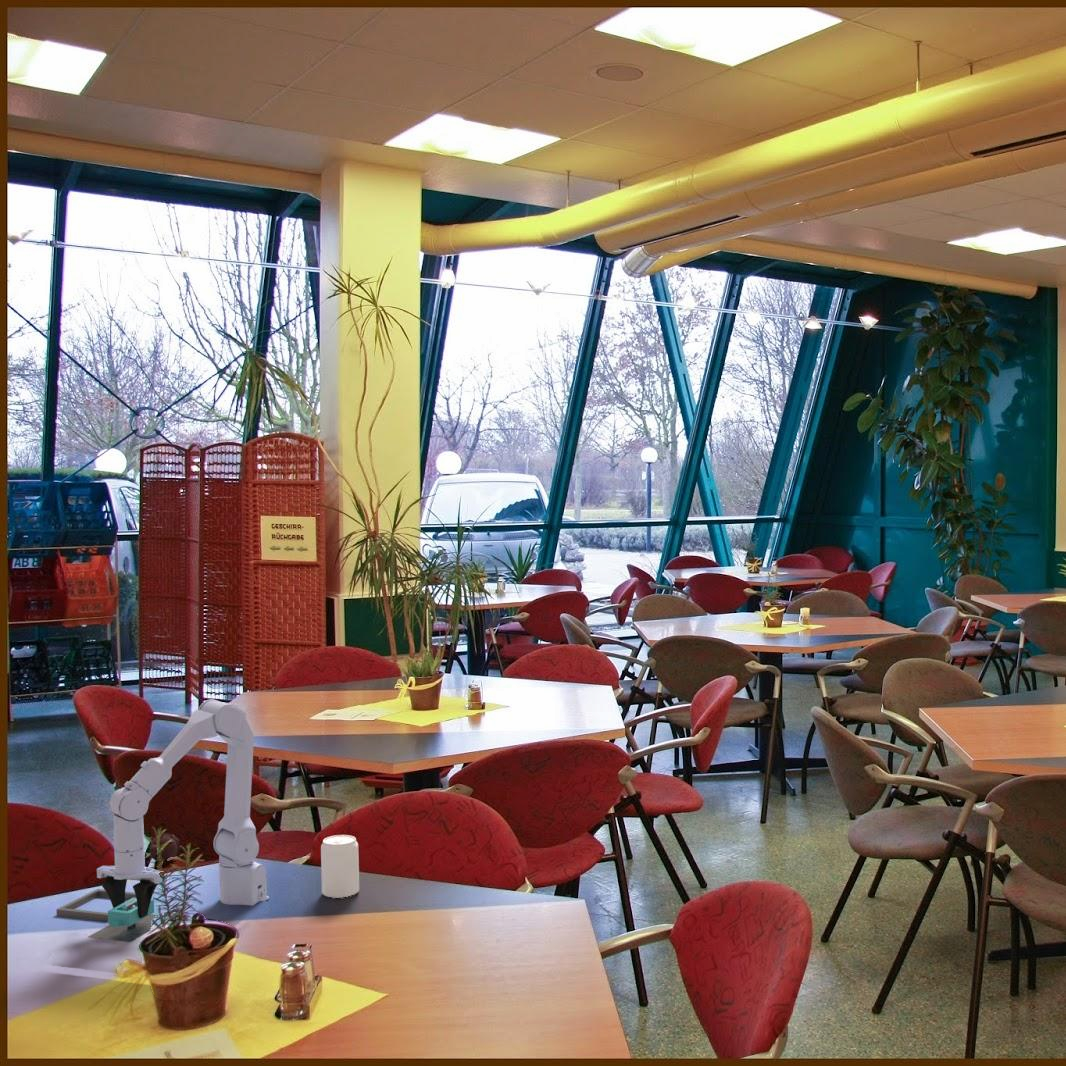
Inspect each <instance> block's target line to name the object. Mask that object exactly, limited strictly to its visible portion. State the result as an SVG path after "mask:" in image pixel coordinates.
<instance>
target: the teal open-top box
mask: <svg viewBox="0 0 1066 1066" xmlns="http://www.w3.org/2000/svg"><path fill="white" fill-rule="evenodd" d="M133 900H137V899H136V898H131V899H130V900H125V902H124V903H122V904H120V905H118V906H117V907H115V908H113V907H112V908H111V909H110V910H107V913H108V921H107V923H108V925H110V924H112V927H116V928H119V927H121V926H131V925H133V924H135V923H136V922H138V921H140V920H142V919H143V918H145V917H147V916H149V915H150V914H154V913H155V899H152V898H151V902H150V905H149V910H148V915H146V916H145V917H143V918H139V916H138V908H137V904H136V905H135V908H133V909H131V910H129V911H127V910H126V909H123V906H124V905H126V904H128V903H129V902H131V901H133Z"/></svg>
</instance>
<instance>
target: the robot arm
mask: <svg viewBox="0 0 1066 1066" xmlns="http://www.w3.org/2000/svg"><path fill="white" fill-rule="evenodd" d="M218 736H219V737H220V738H221V739H222V740H223V741H224V742H226V743H227V753H226V756H227V757H226V771H225V772H226V773H225V775H226V776H225V790H224V791H225V792H224V811H223V814H224V815H223V817H222V819H221V820H219V822H218V824H217V827H218V828H217V832H216V834H215V836H214V838H213V849H214V851H215V853H216V854H217V855H218V856H219V857H218V858H219V861H218V865H219V866H218V867H219V868H218V869H219V899H220V900H219V901H220V903H222V904H224V905H235V906H237V905H243V906H255V905H256V904H257V903H259V902H266V901H267V900H269V898H270V897H269V896H268V884H267V882H268V881H267V876H268V875H267V868H266V867H265V865H264V864H262V863H259V862H256V861H255V859H256V857H257V856H258V854H259V850H260V844H259V841H258V838H257V829H256V826H255V825H254V823H253V821H252V819H251V804H252V801H251V800H252V783H253V781H252V780H253V779H252V778H253V761H254V742H255V741H254V739H255V737H254V731H253V730H252V728H251V726H250V724H249V721H248V720H247V713H246V711H244V710H243V709H241V707H239V706H238V705H235V704H232V703H226V702H222V701H219V700H218V699H215V698H214V699H207V700H205V701H203V702H202V703H201V704H200V705H199V707H198V708H197V709H195V710H194V711H193V712H192V713H191V715H190V717H189V719H188V721H187V722H186V723H185V725H184V726H183V727H182V729H180V731H179V732H178V734H177V735H175V737H174V739H172V741H171V742H169V744H168V746H167V747H166V748H165V749H164V751H163V752H162V753H161V754H160V755H159V756H158V757H153V758H152V757H151V758H149V759H148V760H147V761H146V760H144V761H143V762H141V764H140V767H141V768H140V769H139V770H138V771H137V772H136V773H135V775H133V776H132V778H131V779H130V780H129V781H128V780H126V782H125V783H124V784H123V785H124V787H121V788H118V789H117V790H115V791H114V792H113V793H112V794H111V797H110V800H109V802H107V807H108V810H109V812H110V813H112V815H113V816H112V817H113V848H114V850H113V851H114V852H113V853H114V865H101V866H100V867H98V868H96V878H97V879H103V878H105V881H103V882H102V883H101V887H102V888H103V890H105V891H106V892H107V894H108V896H109V900H110V902H111V905H112V909H113V908H115V907H117V906H118V905H120V904H122V903H124V902H126V899H125V892H126V888H127V882H128V880H129V881H138V883H135V884H133V885H132V889H133V892H134V893H135V895H136V899H137V908H138V916H139V918H143V917H145V916H146V915H148V910H149V905H150V902H151V899H152V897H153V895H154V893H155V890H156V889H157V886H158V884H160V883H162V882H161V877H160V875H159V873H160V872H164V871H162V870H159V869H155V868H151V867H147V866H146V860H145V859H146V856H145V829H144V816H145V815H146V814H147V812H148V809H149V805H150V802H151V800H152V799H153V797H154V796H156V794H158V793H159V791H160V790H161V789H162V788H163V787H164V785H166V783H167V782H168V781H169V780H170V779H171V778H172V775H173V774H172V773H173V771H172V769H173V767H174V766H175V765H176V764H177V763H178V762H179V761H180V760H181V759H182V758H184V756H186V754H187V753H188V752H190V750H191V749H192V748H193V747H194V746H195V745H196V744H197V743H198V742H199V741H200V740H205V739H210V738H216V737H218ZM164 873H165V872H164Z"/></svg>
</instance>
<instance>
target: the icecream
mask: <svg viewBox="0 0 1066 1066" xmlns="http://www.w3.org/2000/svg"><path fill="white" fill-rule="evenodd" d="M163 834H164V835H163V837H162V839H161V844H164V843H165V842H167V841H168V840H169V839H173V840H174V843H171V844H170V845H168V846H167V847H166V848H165V849H164V851H163V855H162V859H163V863H164V864H165V862H167V861H166V860H167V859H168V858H170V857H173V858H175V857H177V855H178V854H179V852H180V851H179V850H180V846H181V844H180V839H179V838H178V837H176V835H175V834H171V833H166V832H165V833H163ZM156 840H157V835H155V836H153V837H152V840H151V842H150V845H149V846H148V848H149V856H150V858H151V859H153V860H154V861H156V862H157V846H156ZM156 862H155V866H156Z"/></svg>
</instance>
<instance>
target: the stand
mask: <svg viewBox="0 0 1066 1066" xmlns="http://www.w3.org/2000/svg"><path fill="white" fill-rule="evenodd" d="M136 904H137V900H133V901H131V902H129V903H128V904H126V905H124V906H123V909H126V910H127V911H129V910H131V909H133V908H135V905H136ZM158 915H159V914H154V913H152V914H150V915H149V916H147V917H145V918H143V919H142V920H140V921H138V922H136V923H135V924H133V925H131V926H121V927H119V928H116V927H112V924H108V925H107V926H104V927H103V928H101V929H99V930H97V931H96V932H94V933H92V934H91V935H89V936H87V938H90V939H91V938H93V939H99V940H111V941H119V942H126V943H132V942H133V941H136V940H137V939H139V938H140V937H142V936H144V935H145V934H147V933H149V932H150V931H151V930H150V929H151V927H152V926H151V920H152V919H153V918H158ZM155 916H157V917H155Z"/></svg>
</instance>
